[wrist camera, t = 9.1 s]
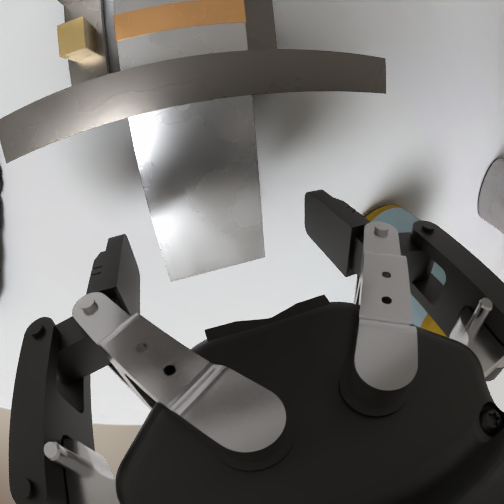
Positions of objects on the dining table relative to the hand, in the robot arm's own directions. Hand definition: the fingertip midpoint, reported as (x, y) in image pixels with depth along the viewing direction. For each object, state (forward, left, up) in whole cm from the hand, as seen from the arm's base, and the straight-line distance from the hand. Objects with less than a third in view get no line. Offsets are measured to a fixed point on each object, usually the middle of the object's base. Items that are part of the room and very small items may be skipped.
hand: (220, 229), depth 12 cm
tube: (0, -7, -6) cm, 9 cm away
